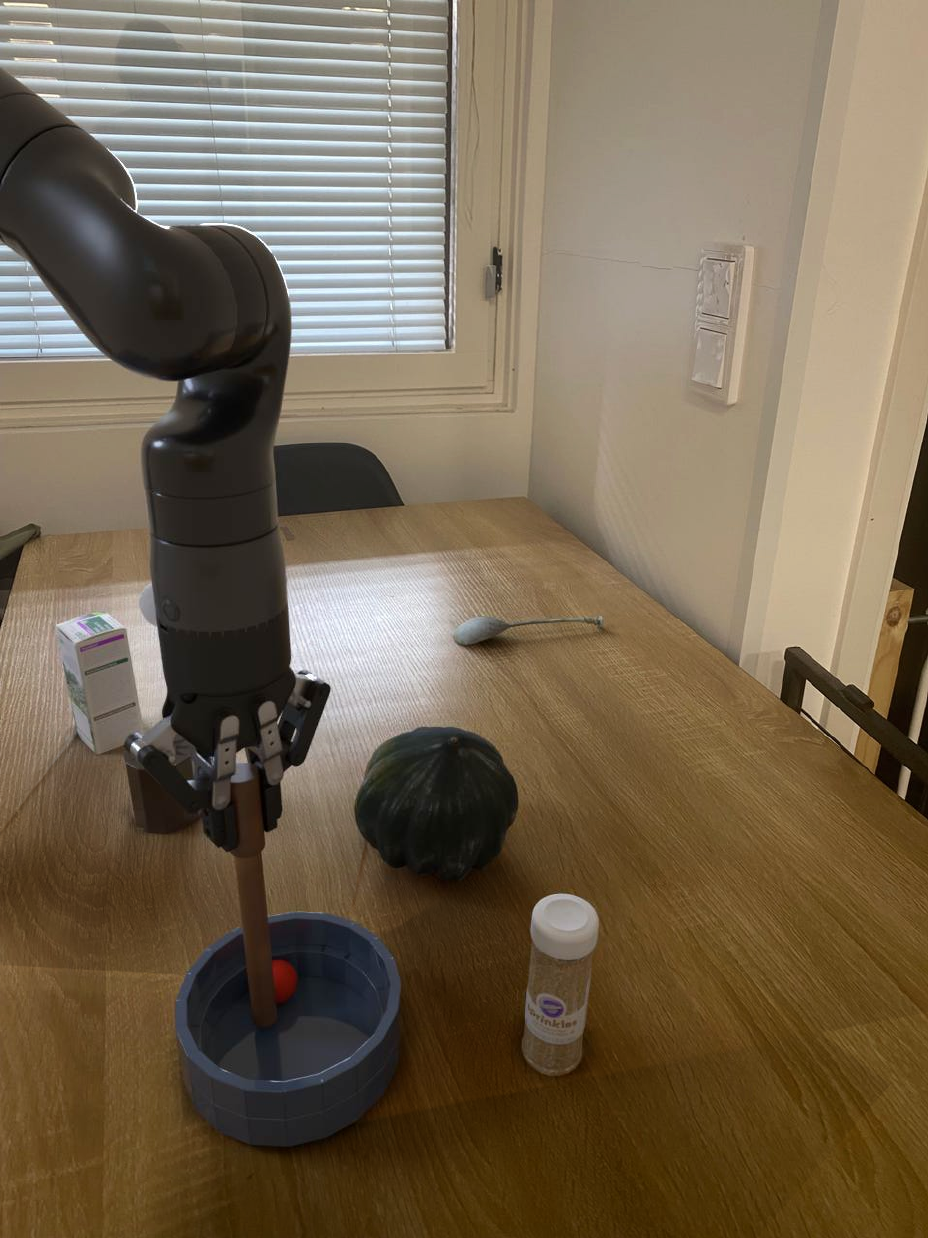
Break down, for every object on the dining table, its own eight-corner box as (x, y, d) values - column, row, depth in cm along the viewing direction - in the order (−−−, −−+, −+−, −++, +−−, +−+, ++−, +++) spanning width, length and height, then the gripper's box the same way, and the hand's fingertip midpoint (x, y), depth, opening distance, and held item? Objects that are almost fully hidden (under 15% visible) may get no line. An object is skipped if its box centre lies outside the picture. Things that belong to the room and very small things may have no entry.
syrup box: (147, 740, 103) (129, 625, 96) (95, 760, 99) (74, 642, 93) (125, 720, 106) (106, 607, 100) (74, 738, 103) (52, 623, 96)
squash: (379, 737, 94) (361, 693, 81) (523, 755, 93) (529, 713, 80) (356, 877, 89) (332, 856, 75) (507, 897, 88) (511, 879, 74)
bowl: (152, 1146, 60) (141, 1084, 57) (219, 963, 74) (212, 907, 72) (388, 1159, 60) (387, 1097, 57) (410, 972, 74) (410, 916, 71)
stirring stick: (244, 1030, 67) (215, 782, 57) (253, 1004, 69) (226, 760, 59) (277, 1032, 67) (253, 784, 57) (284, 1006, 69) (262, 762, 59)
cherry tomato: (248, 995, 71) (252, 954, 70) (288, 990, 72) (292, 950, 72) (259, 1014, 68) (263, 972, 68) (300, 1009, 69) (304, 968, 69)
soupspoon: (448, 633, 130) (458, 656, 125) (448, 612, 129) (458, 635, 123) (593, 616, 135) (609, 638, 129) (595, 596, 133) (611, 617, 127)
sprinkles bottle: (520, 1076, 65) (531, 936, 60) (522, 1023, 70) (532, 888, 64) (584, 1082, 65) (601, 942, 59) (582, 1029, 69) (598, 893, 63)
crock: (124, 836, 88) (112, 768, 84) (148, 794, 94) (138, 729, 90) (191, 839, 88) (182, 771, 84) (211, 797, 94) (204, 732, 90)
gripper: (287, 551, 60) (300, 769, 67) (76, 609, 51) (119, 852, 59) (357, 587, 55) (362, 818, 62) (137, 658, 46) (174, 916, 54)
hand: (244, 833), depth 60 cm, fingers closed on stirring stick, 2 cm apart
